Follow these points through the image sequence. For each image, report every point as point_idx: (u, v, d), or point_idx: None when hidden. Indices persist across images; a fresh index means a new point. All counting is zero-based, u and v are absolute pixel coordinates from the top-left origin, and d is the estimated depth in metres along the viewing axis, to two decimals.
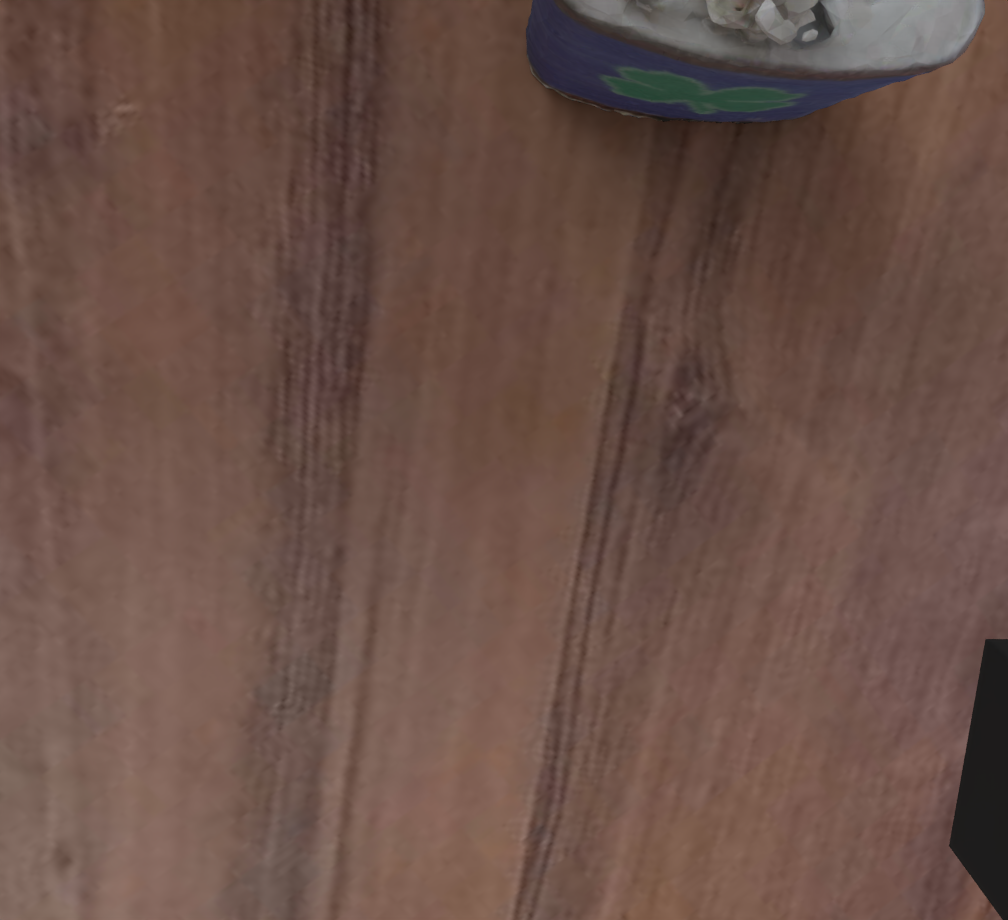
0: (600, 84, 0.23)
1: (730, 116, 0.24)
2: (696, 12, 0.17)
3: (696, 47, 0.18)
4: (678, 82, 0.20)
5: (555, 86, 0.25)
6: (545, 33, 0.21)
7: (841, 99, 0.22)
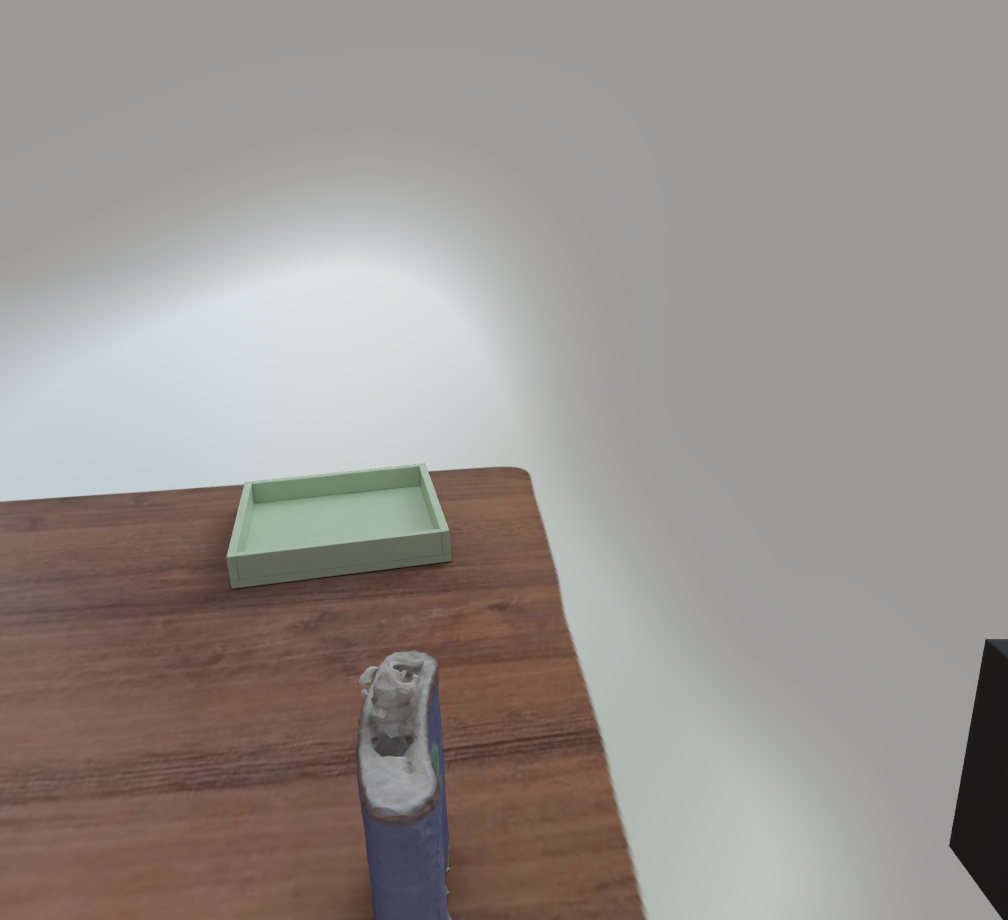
0: None
1: None
2: None
3: (367, 700, 0.30)
4: None
5: None
6: None
7: (375, 909, 0.27)
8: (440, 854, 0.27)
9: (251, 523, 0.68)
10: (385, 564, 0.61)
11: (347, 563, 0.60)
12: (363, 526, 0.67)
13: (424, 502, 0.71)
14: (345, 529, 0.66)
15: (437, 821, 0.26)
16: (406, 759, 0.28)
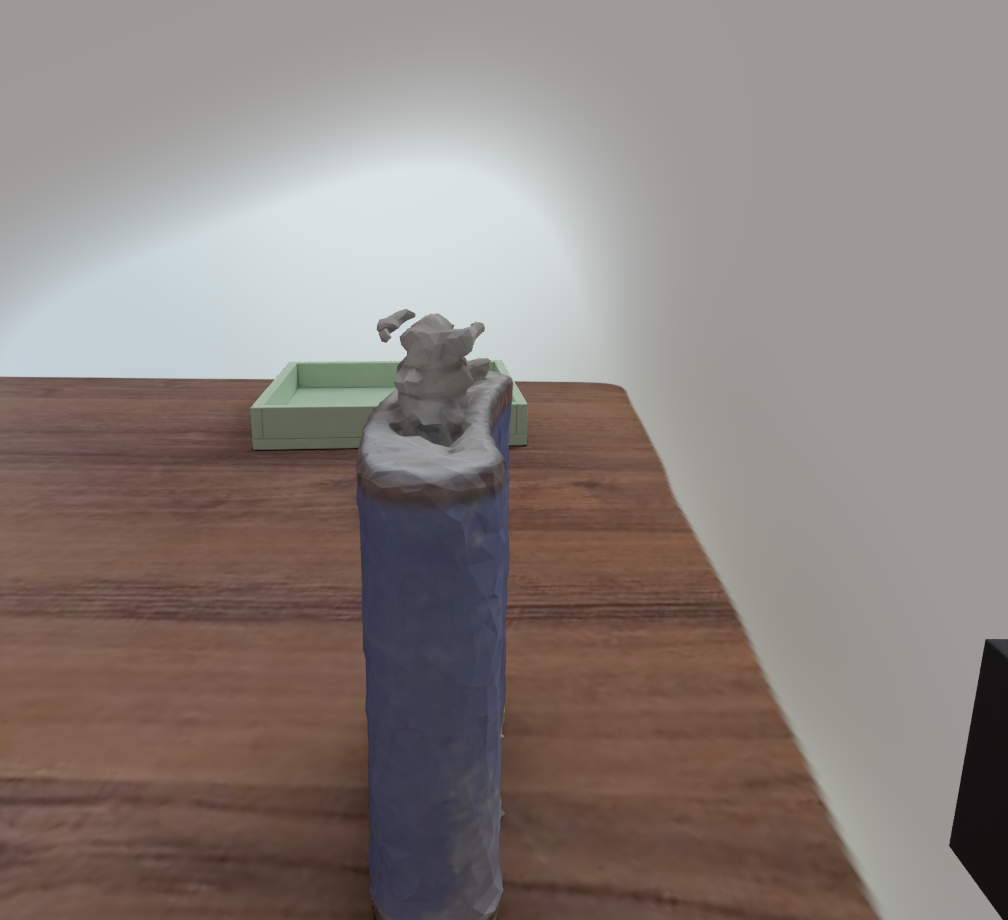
0: None
1: None
2: None
3: (391, 395, 0.18)
4: None
5: None
6: None
7: (368, 712, 0.15)
8: (497, 604, 0.14)
9: (290, 401, 0.57)
10: None
11: None
12: None
13: None
14: None
15: (497, 529, 0.13)
16: (448, 448, 0.15)
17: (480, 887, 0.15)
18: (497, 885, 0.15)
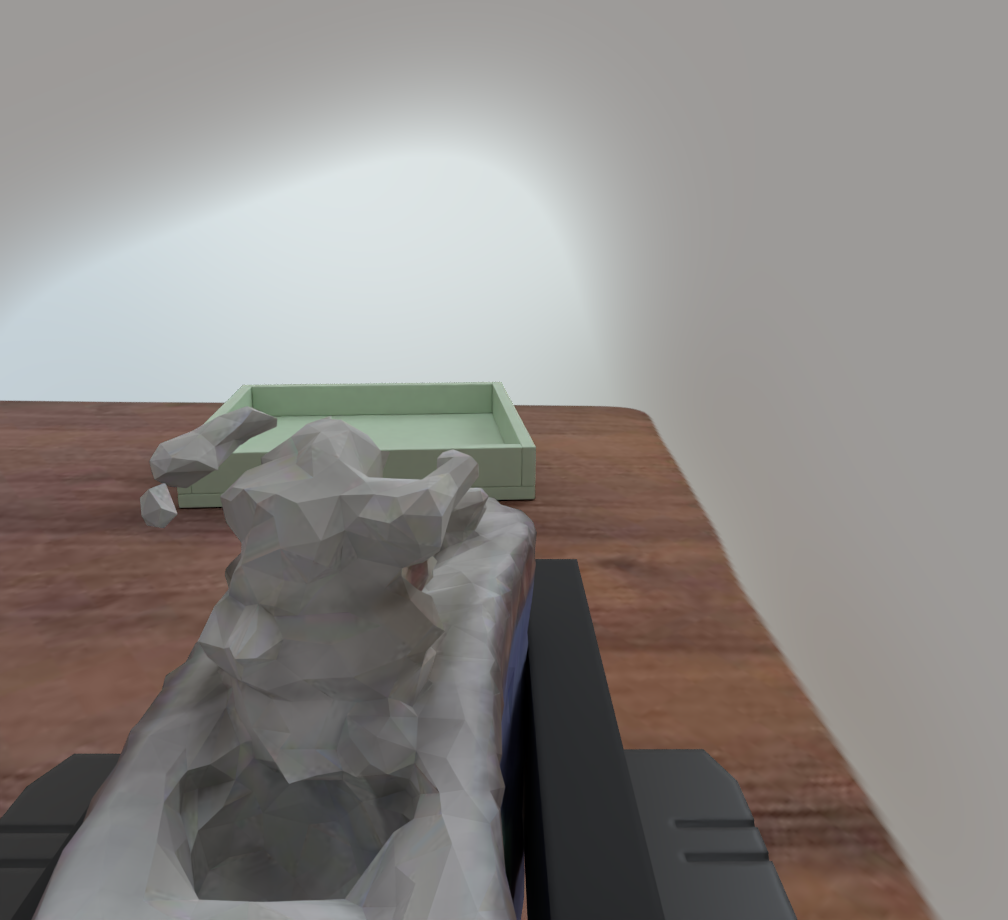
0: None
1: None
2: None
3: None
4: None
5: None
6: None
7: None
8: None
9: None
10: None
11: None
12: None
13: (496, 429, 0.48)
14: None
15: None
16: None
17: None
18: None
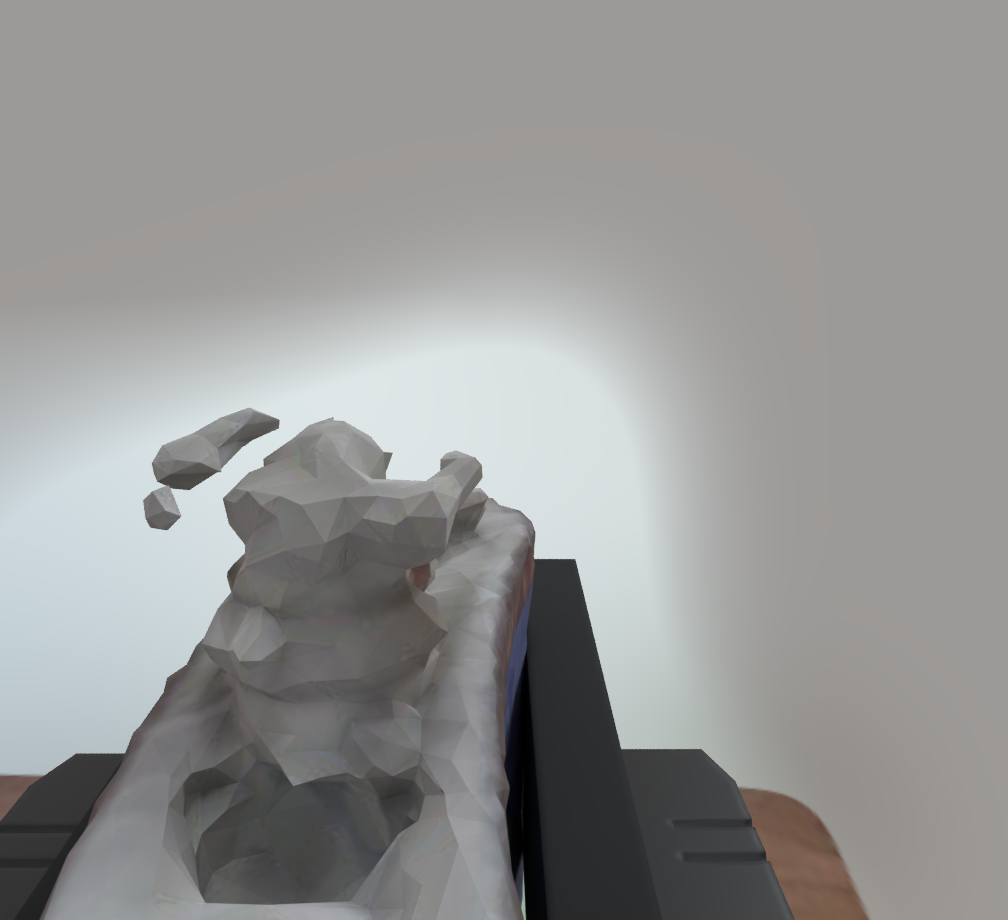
0: None
1: None
2: None
3: None
4: None
5: None
6: None
7: None
8: None
9: None
10: None
11: None
12: None
13: None
14: None
15: None
16: None
17: None
18: None
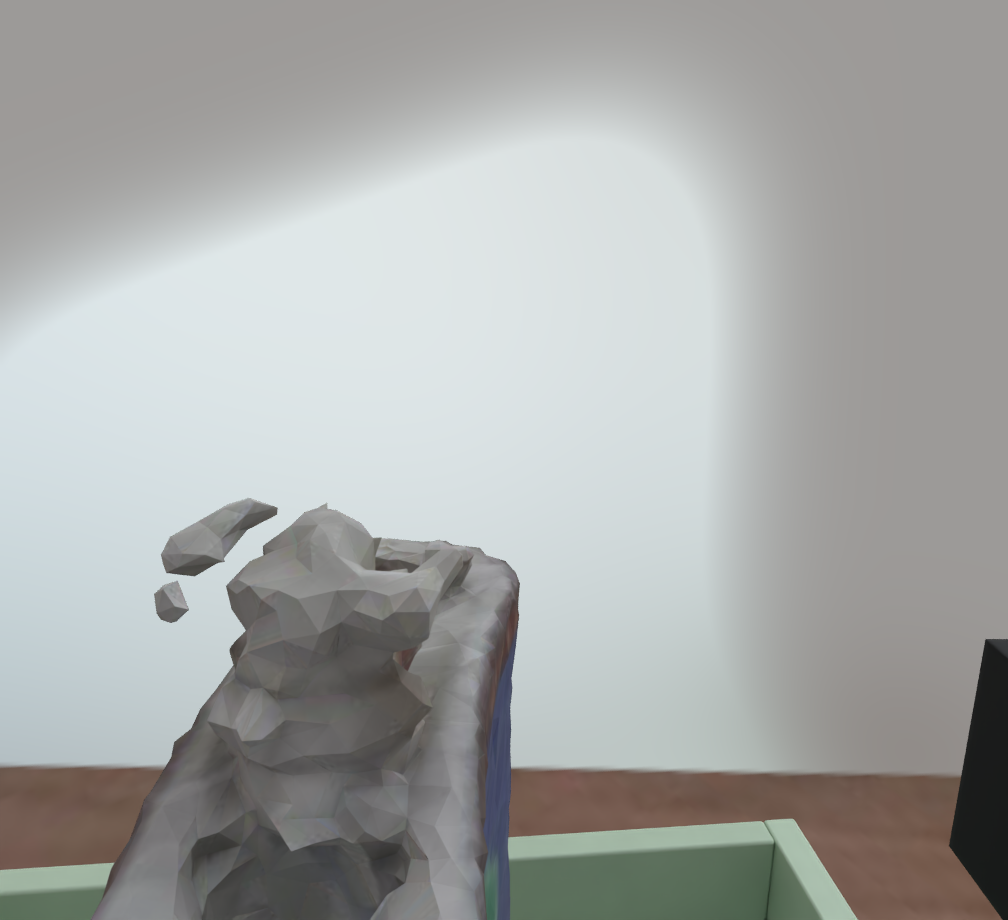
0: None
1: None
2: None
3: None
4: None
5: None
6: None
7: None
8: None
9: None
10: None
11: None
12: None
13: None
14: None
15: None
16: None
17: None
18: None
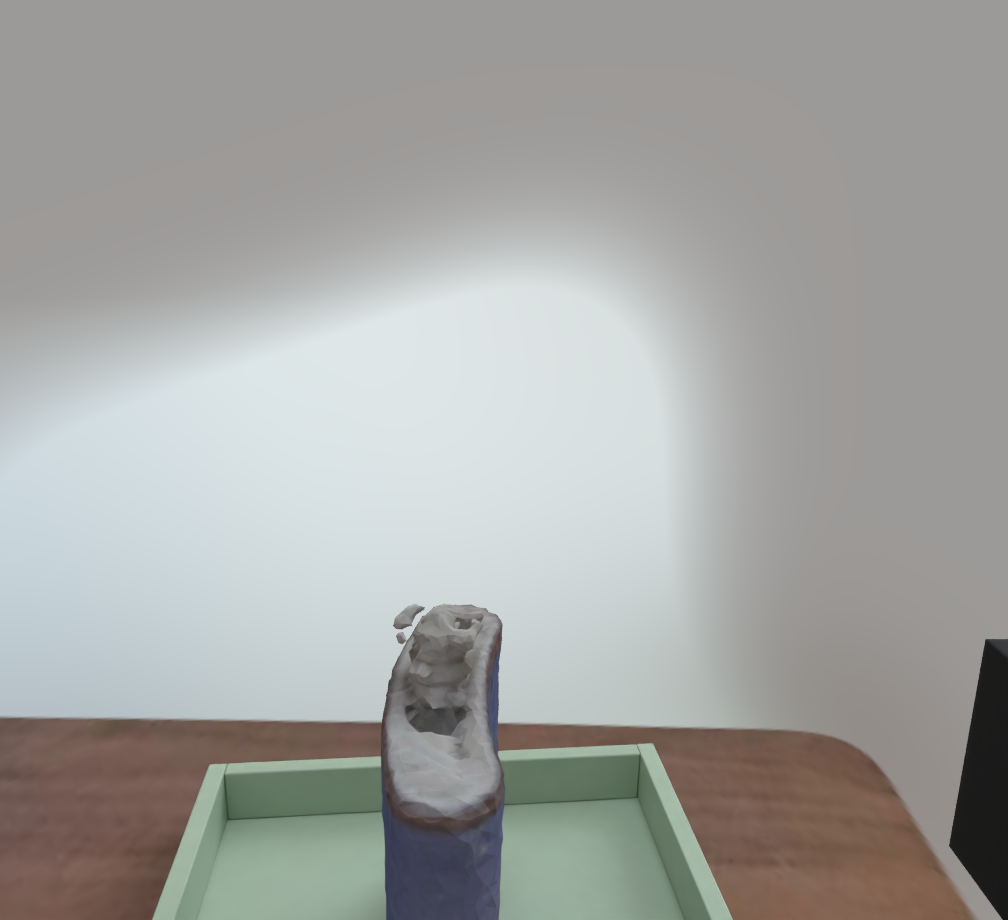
0: None
1: None
2: None
3: (402, 658, 0.22)
4: None
5: None
6: None
7: None
8: (497, 887, 0.17)
9: None
10: None
11: None
12: None
13: (667, 885, 0.26)
14: None
15: (497, 834, 0.17)
16: (454, 739, 0.19)
17: None
18: None
